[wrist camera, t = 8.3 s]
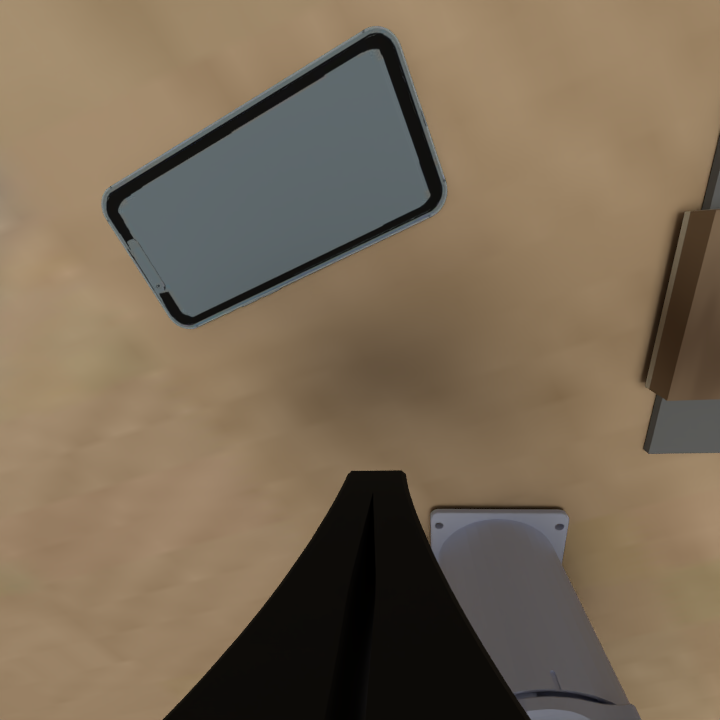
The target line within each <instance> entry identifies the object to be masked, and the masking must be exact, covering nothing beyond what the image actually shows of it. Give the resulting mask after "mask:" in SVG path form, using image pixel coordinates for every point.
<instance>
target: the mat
mask: <svg viewBox="0 0 720 720" xmlns="http://www.w3.org/2000/svg"><path fill="white" fill-rule="evenodd" d="M709 209H720V137H719V141H718V145H717V150H716V154H715V158H714V162H713V166H712V170H711V174H710V178H709V182H708V187H707V191H706V195H705V199H704V203H703V207H702V210H709ZM644 450H645V451H646V452H647V453H648V454H663V453H720V399H714V400H680V401H666V400H665V399H663V398H662V397H660V396H659V395H657V396H656V400H655V404H654V408H653V412H652V416H651V420H650V425H649V429H648V433H647V437H646V441H645V445H644Z"/></svg>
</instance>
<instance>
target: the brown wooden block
mask: <svg viewBox="0 0 720 720" xmlns="http://www.w3.org/2000/svg"><path fill="white" fill-rule="evenodd" d="M645 387H646V388H648V389H650V390H651V391H653V392H654V393H656V394H657V395H659V396H660V397H662V398H663V399H665V400H666V401H680V400H714V399H720V209H709V210H698V211H687V212H685V214H684V218H683V222H682V227H681V231H680V236H679V240H678V244H677V249H676V253H675V257H674V262H673V266H672V271H671V275H670V279H669V284H668V288H667V293H666V297H665V301H664V306H663V310H662V314H661V319H660V323H659V328H658V332H657V336H656V341H655V345H654V349H653V354H652V358H651V363H650V367H649V371H648V376H647V380H646V384H645Z"/></svg>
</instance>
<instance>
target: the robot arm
mask: <svg viewBox="0 0 720 720" xmlns="http://www.w3.org/2000/svg"><path fill="white" fill-rule="evenodd" d="M436 523H441V524H436ZM430 524H431V547H430V544H429V542H428V540H427V538H426V535H425V533H424V531H423V528H422V526H421V524H420V521H419V519H418V516H417V513H416V511H415V508H414V505H413V502H412V499H411V496H410V492H409V489H408V484H407V479H406V474H405V473H404V472H402V471H351V472H350V473H349V474H348V475H347V477H346V480H345V482H344V484H343V486H342V488H341V490H340V491H339V493H338V495H337V497H336V499H335V501H334V502H333V504H332V506H331V508H330V509H329V511H328V513H327V515H326V516H325V518H324V520H323V521H322V523H321V524H320V526H319V528H318V529H317V531H316V532H315V534H314V536H313V537H312V539H311V540H310V542H309V543H308V545H307V546H306V548H305V549H304V551H303V552H302V554H301V555H300V557H299V558H298V559H297V561H296V562H295V564H294V565H293V567H292V568H291V569H290V571H289V572H288V574H287V575H286V577H285V578H284V579H283V581H282V582H281V584H280V585H279V586H278V588H277V589H276V590H275V592H274V593H273V594H272V596H271V597H270V598H269V599H268V601H267V602H266V603H265V605H264V606H263V607H262V608H261V610H260V611H259V612H258V613H257V615H256V616H255V617H254V618H253V620H252V621H251V622H250V623H249V624H248V626H247V627H246V628H245V629H244V631H243V632H242V633H241V634H240V635H239V637H238V638H237V639H236V640H235V641H234V642H233V643H232V645H231V646H230V647H229V648H228V649H227V650H226V651H225V653H224V654H223V655H222V656H221V657H220V658H219V659H218V661H217V662H216V663H215V664H214V665H213V666H212V667H211V669H210V670H209V671H208V672H207V673H206V674H205V675H204V676H203V678H202V679H201V680H200V681H199V682H198V683H197V684H196V685H195V686H194V687H193V689H192V690H191V691H190V692H189V693H188V694H187V695H186V696H185V697H184V698H183V699H182V700H181V701H180V702H179V703H178V704H177V705H176V706H175V708H174V709H173V710H172V711H171V712H170V713H169V714H168V715H167V716H166V717H165V718H164V719H163V720H641V718H640V716H639V714H638V712H637V710H636V708H635V706H634V705H632V704H630V703H629V701H628V699H627V697H626V695H625V693H624V690H623V688H622V686H621V684H620V682H619V680H618V678H617V676H616V674H615V672H614V670H613V668H612V666H611V664H610V662H609V660H608V658H607V656H606V654H605V652H604V650H603V648H602V646H601V643H600V641H599V639H598V637H597V635H596V633H595V631H594V629H593V627H592V625H591V623H590V621H589V619H588V617H587V615H586V613H585V611H584V609H583V607H582V605H581V603H580V601H579V599H578V597H577V594H576V592H575V590H574V588H573V586H572V584H571V582H570V580H569V578H568V576H567V574H566V572H565V570H564V568H563V566H562V560H563V554H564V548H565V542H566V536H567V530H568V524H569V517H568V515H567V514H566V512H565V511H563V510H559V509H435V510H433V511H432V512H431V514H430ZM557 524H559V525H557Z"/></svg>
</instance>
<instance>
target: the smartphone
mask: <svg viewBox="0 0 720 720" xmlns="http://www.w3.org/2000/svg"><path fill="white" fill-rule="evenodd" d="M446 197H447V184H446V180H445V177H444V174H443V171H442V168H441V165H440V162H439V159H438V156H437V153H436V150H435V147H434V144H433V141H432V138H431V135H430V132H429V129H428V126H427V123H426V120H425V117H424V114H423V111H422V108H421V105H420V102H419V99H418V96H417V93H416V90H415V87H414V84H413V81H412V78H411V75H410V72H409V69H408V66H407V63H406V60H405V57H404V54H403V51H402V48H401V45H400V43H399V41H398V39H397V37H396V36H395V35H394V34H393V33H392V32H391V31H390V30H388V29H387V28H384V27H380V26H372V27H368V28H366V29H364V30H363V31H361V32H360V33H358V34H356V35H355V36H353V37H351V38H350V39H348V40H347V41H345V42H343V43H342V44H340V45H338V46H337V47H335V48H334V49H332V50H330V51H329V52H327V53H326V54H324V55H322V56H321V57H319V58H317V59H316V60H314V61H313V62H311V63H309V64H308V65H306V66H305V67H303V68H301V69H300V70H298V71H296V72H295V73H293V74H292V75H290V76H288V77H287V78H285V79H283V80H282V81H280V82H279V83H277V84H275V85H274V86H272V87H271V88H269V89H267V90H266V91H264V92H262V93H261V94H259V95H258V96H256V97H254V98H253V99H251V100H249V101H248V102H246V103H245V104H243V105H241V106H240V107H238V108H237V109H235V110H233V111H232V112H230V113H228V114H227V115H225V116H224V117H222V118H220V119H219V120H217V121H216V122H214V123H212V124H211V125H209V126H207V127H206V128H204V129H203V130H201V131H199V132H198V133H196V134H194V135H193V136H191V137H190V138H188V139H186V140H185V141H183V142H182V143H180V144H178V145H177V146H175V147H173V148H172V149H170V150H169V151H167V152H165V153H164V154H162V155H161V156H159V157H157V158H156V159H154V160H152V161H151V162H149V163H148V164H146V165H144V166H143V167H141V168H139V169H138V170H136V171H135V172H133V173H131V174H130V175H128V176H127V177H125V178H123V179H122V180H120V181H118V182H117V183H115V184H114V185H112V186H110V187H109V188H108V189H106V191H105V192H104V194H103V197H102V203H101V204H102V210H103V214H104V216H105V218H106V220H107V221H108V223H109V225H110V226H111V228H112V229H113V231H114V232H115V234H116V235H117V237H118V239H119V240H120V242H121V243H122V245H123V246H124V248H125V249H126V251H127V253H128V254H129V256H130V257H131V259H132V260H133V262H134V263H135V265H136V266H137V268H138V270H139V271H140V273H141V274H142V276H143V277H144V279H145V280H146V282H147V284H148V285H149V287H150V288H151V290H152V291H153V293H154V294H155V296H156V298H157V299H158V301H159V302H160V304H161V305H162V307H163V308H164V310H165V312H166V313H167V315H168V316H169V318H170V319H171V320H172V321H173V322H174V323H175V324H176V325H178V326H180V327H182V328H186V329H194V328H197V327H199V326H201V325H203V324H205V323H208V322H210V321H212V320H214V319H216V318H218V317H220V316H222V315H224V314H228V313H230V312H232V311H234V310H235V309H237V308H239V307H241V306H242V307H244V306H246V305H248V304H250V303H252V302H254V301H256V300H258V299H259V298H260V297H265V296H267V295H269V294H271V293H273V292H275V291H277V290H280V288H282V287H284V286H286V285H288V284H290V283H292V282H294V281H296V280H299V279H301V278H303V277H305V276H307V275H309V274H311V273H313V272H316V271H318V270H320V269H322V268H324V267H326V266H328V265H330V264H332V263H335V262H337V261H339V260H341V259H343V258H345V257H347V256H349V255H352V254H354V253H356V252H358V251H360V250H362V249H364V248H366V247H368V246H371V245H373V244H375V243H377V242H379V241H381V240H383V239H385V238H388V237H390V236H392V235H394V234H396V233H398V232H400V231H402V230H404V229H407V228H409V227H411V226H413V225H415V224H417V223H419V222H421V221H424V220H426V219H428V218H430V217H432V216H433V215H435V214H436V213H438V212H439V210H440V209H441V208H442V207H443V205H444V203H445V200H446Z"/></svg>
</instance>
